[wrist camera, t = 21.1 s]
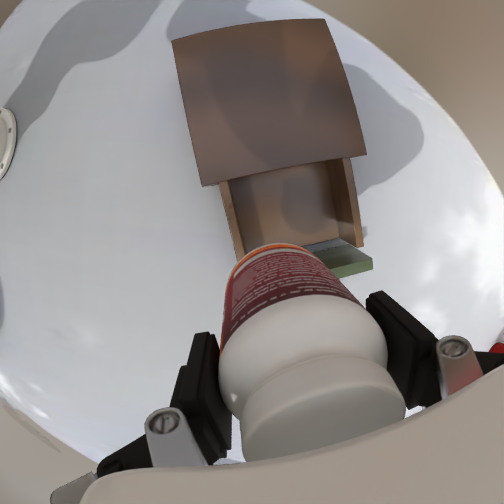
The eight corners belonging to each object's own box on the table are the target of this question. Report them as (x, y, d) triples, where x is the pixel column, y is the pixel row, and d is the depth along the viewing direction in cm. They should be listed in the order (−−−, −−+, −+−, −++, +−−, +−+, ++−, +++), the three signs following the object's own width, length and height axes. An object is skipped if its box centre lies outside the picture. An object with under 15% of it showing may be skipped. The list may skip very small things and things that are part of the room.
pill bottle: (204, 278, 16) (158, 429, 5) (294, 219, 15) (400, 298, 5) (262, 350, 17) (284, 502, 7) (343, 301, 17) (438, 425, 6)
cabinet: (337, 160, 29) (367, 154, 22) (212, 185, 30) (202, 186, 22) (306, 50, 26) (324, 18, 18) (186, 71, 26) (171, 40, 18)
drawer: (354, 290, 32) (375, 312, 26) (249, 316, 33) (251, 344, 27) (330, 139, 28) (351, 129, 22) (211, 162, 28) (203, 156, 22)
